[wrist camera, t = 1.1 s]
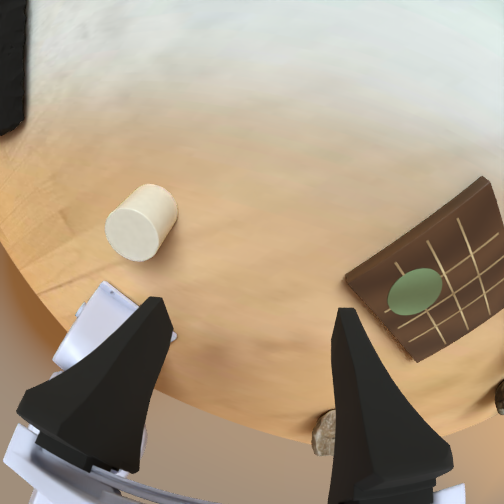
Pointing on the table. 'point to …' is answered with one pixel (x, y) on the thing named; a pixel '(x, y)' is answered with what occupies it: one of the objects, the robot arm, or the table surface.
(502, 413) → the seashell
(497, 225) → the game board
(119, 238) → the white cylinder
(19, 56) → the stone tool
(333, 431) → the stone
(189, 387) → the table surface
